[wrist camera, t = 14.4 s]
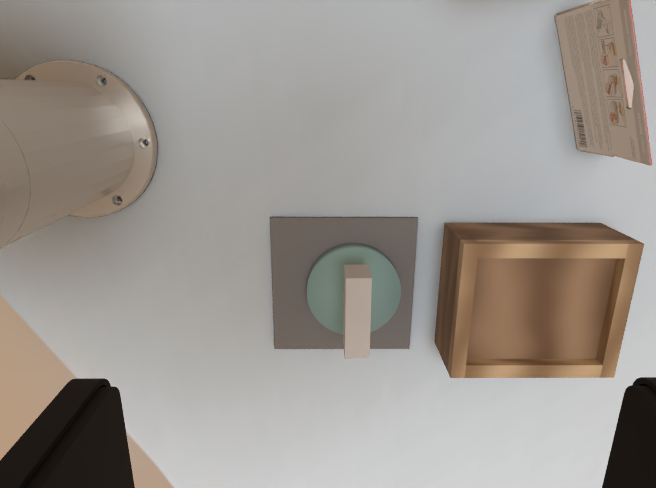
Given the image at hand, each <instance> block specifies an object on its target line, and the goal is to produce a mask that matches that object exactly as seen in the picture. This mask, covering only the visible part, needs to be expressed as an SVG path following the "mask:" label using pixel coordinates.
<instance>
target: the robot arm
mask: <svg viewBox="0 0 656 488" xmlns="http://www.w3.org/2000/svg"><path fill="white" fill-rule="evenodd" d="M104 78H106V81H107V84H106V85H105V84H104V82H103V79H104ZM34 79H35V80H34ZM145 139H147V140H148V142H149V145H146V144H145ZM156 159H157V138H156V134H155V130H154V126H153V123H152V121H151V118H150V116H149V114H148V112H147V109H146V108H145V106H144V105H143V103H142V102H141V100H140V99H139V97H138V96H137V95H136V94H135V93H134V92H133V91H132V90H131V89H130V88H129V86H128V85H127V84H125V83H124V82H123V81H121V80H120V79H119V78H118V77H116V76H115V75H114V74H112V73H110V72H108V71H106V70H104V69H102V68H100V67H97V66H94V65H91V64H88V63H84V62H77V61H66V60H55V61H50V62H45V63H40V64H38V65H36V66H34V67H32V68H29V69H27V70H26V71H25V72H23V73H22V74H21V75H19V76H18V77H17V78H16V79H15V80H8V79H0V248H1V247H4V246H6V245H7V244H10V243H12V242H14V241H16V240H18V239H20V238H22V237H24V236H26V235H28V234H30V233H32V232H34V231H36V230H38V229H40V228H42V227H44V226H46V225H48V224H50V223H52V222H54V221H56V220H58V219H60V218H62V217H64V216H66V215H71V216H76V217H87V218H89V217H100V216H105V215H108V214H112V213H115V212H117V211H119V210H121V209H123V208H125V207H126V206H128V205H129V204H131V203H132V202H133V201H135V200H136V199H137V198H138V197H139V196H140V195H141V194H142V193H143V192H144V190H145V189H146V187H147V185H148V184H149V182H150V180H151V178H152V175H153V173H154V170H155V167H156ZM119 196H120V197H121V198H122V200H123V201H121V200H120V199H119ZM0 488H135V487H134V482H133V474H132V469H131V462H130V455H129V449H128V442H127V436H126V429H125V423H124V417H123V410H122V404H121V397H120V392H119V390H118V388H117V387H111V386H110V383H109V381H108V380H107V379H72V380H71V381H70V382H68V383H67V384H66V386H65V387H64V388H63V389H62V390H61V391H60V392H59V394H58V395H57V396H56V397H55V398H54V399H53V400H52V402H51V403H50V404H49V405H48V406H47V407H46V409H45V410H44V411H43V412H42V413H41V414H40V416H39V417H38V418H37V419H36V420H35V421H34V422H33V424H32V425H31V426H30V427H29V428H28V429H27V430H26V432H25V433H24V434H23V435H22V436H21V437H20V439H19V440H18V441H17V442H16V443H15V445H14V446H13V447H12V448H11V449H10V450H9V451H8V452H7V454H6V455H5V456H4V457H3V458H2V459H1V460H0ZM602 488H656V378H638V379H636V380H635V382H634V383H633V385H632V386H629V387H628V388H627V389H626V390H625V393H624V397H623V401H622V406H621V410H620V414H619V418H618V423H617V427H616V431H615V435H614V440H613V444H612V448H611V452H610V457H609V461H608V465H607V469H606V473H605V478H604V482H603V486H602Z"/></svg>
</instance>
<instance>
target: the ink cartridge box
mask: <svg viewBox="0 0 656 488" xmlns="http://www.w3.org/2000/svg"><path fill="white" fill-rule="evenodd" d="M555 20H556V24H557V30H558V36H559V42H560V48H561V54H562V60H563V66H564V72H565V78H566V84H567V89H568V96H569V101H570V107H571V113H572V119H573V125H574V132H575V138H576V143H577V149H578V150H580V151H585V152H590V153H595V154H600V155H606V156H611V157H614V156H617V157H621V158H624V159H628V160H631V161H635V162H639V163H643V164H647V165H650V166H651V165H652V160H651V154H650V146H649V136H648V128H647V121H646V113H645V106H644V98H643V91H642V83H641V76H640V68H639V60H638V53H637V44H636V37H635V30H634V23H633V15H632V9H631V2H630V0H596V1H593V2H590V3H587V4H584V5H581V6H578V7H575V8H572V9H569V10H566V11H563V12H560V13H558V14H556V16H555ZM632 80H633V82H632ZM633 83H634V90H633Z"/></svg>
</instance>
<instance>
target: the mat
mask: <svg viewBox="0 0 656 488" xmlns="http://www.w3.org/2000/svg"><path fill="white" fill-rule="evenodd" d="M417 226H418V218H417V217H270V232H271V261H272V290H273V319H274V348H275V349H344V343H343V334H339V333H336V332H333V331H331V330H329V329H328V328H326V327H324V326H323V325H322V324H321V323H320V322H319V321H318V320H317V319H316V318H315V317H314V315H313V314H312V312H311V310H310V307H309V305H308V301H307V282H308V276H309V273H310V270H311V268H312V266H313V265H314V263H315V262H316V260H317V259H318V258H319V257H320V256H321V255H322V254H324V253H325V252H326V251H328V250H329V249H331V248H333V247H336V246H339V245H342V244H347V243H360V244H366V245H369V246H372V247H374V248H376V249H378V250H379V251H381V252H382V253H384V254H385V255H386V256H387V257H388V258H389V259H390V261H391V262H392V264H393V265H394V267H395V269H396V272H397V274H398V277H399V280H400V284H401V298H400V302H399V305H398V308H397V310H396V312H395V313H394V315H393V316H392V318H391V319H390V320H389V321H388V322H387V323H386V324H384V325H383V326H382V327H380V328H379V329H377V330H375V331H373V332H370V349H409V346H410V331H411V316H412V301H413V286H414V271H415V256H416V241H417Z"/></svg>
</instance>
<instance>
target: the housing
mask: <svg viewBox="0 0 656 488" xmlns="http://www.w3.org/2000/svg"><path fill="white" fill-rule="evenodd" d="M643 246H644V244H643V243H641V242H639V241H637V240H635V239H633V238H631V237H629V236H627V235H625V234H622V233H620V232H618V231H616V230H614V229H612V228H610V227H608V226H606V225H604V224H602V223H445V226H444V238H443V249H442V261H441V273H440V285H439V296H438V308H437V320H436V332H435V344H436V346H437V348H438V351H439V353H440V355H441V357H442V360H443V362H444V364H445V366H446V369H447V371H448V373H449V375H450V378H590V377H614V375H615V371H616V366H617V362H618V357H619V353H620V349H621V344H622V340H623V335H624V331H625V326H626V322H627V317H628V313H629V309H630V304H631V300H632V295H633V291H634V286H635V282H636V277H637V273H638V269H639V264H640V260H641V255H642V251H643Z"/></svg>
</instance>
